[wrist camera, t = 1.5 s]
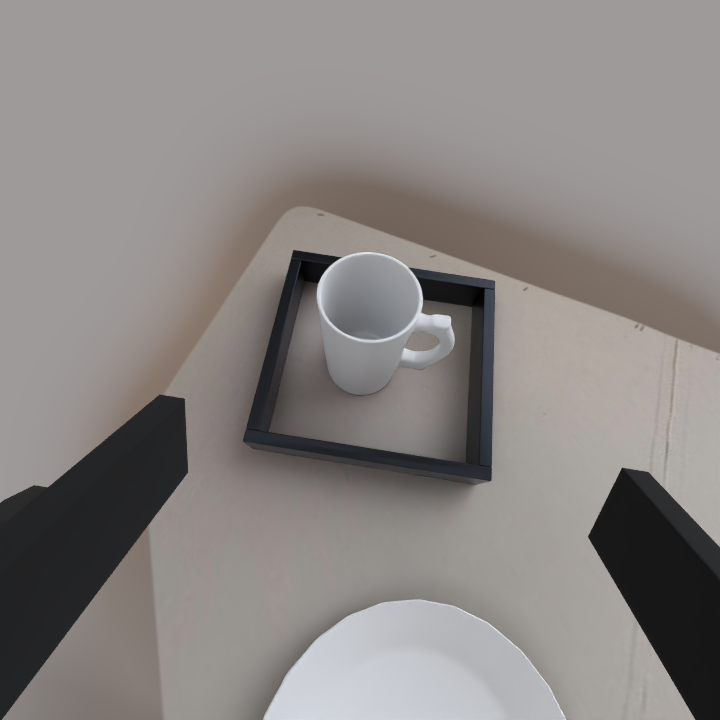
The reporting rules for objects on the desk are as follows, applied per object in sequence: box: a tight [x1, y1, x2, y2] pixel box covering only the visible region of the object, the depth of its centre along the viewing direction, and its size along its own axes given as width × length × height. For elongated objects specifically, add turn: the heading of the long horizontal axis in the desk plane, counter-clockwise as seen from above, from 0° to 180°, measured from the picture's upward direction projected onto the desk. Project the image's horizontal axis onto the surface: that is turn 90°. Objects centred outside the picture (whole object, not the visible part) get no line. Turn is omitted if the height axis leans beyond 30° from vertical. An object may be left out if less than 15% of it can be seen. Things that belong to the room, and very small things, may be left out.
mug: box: [317, 252, 455, 395], centre depth 30 cm, size 10×7×12 cm, turn 77°
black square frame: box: [243, 250, 495, 484], centre depth 34 cm, size 19×18×4 cm
